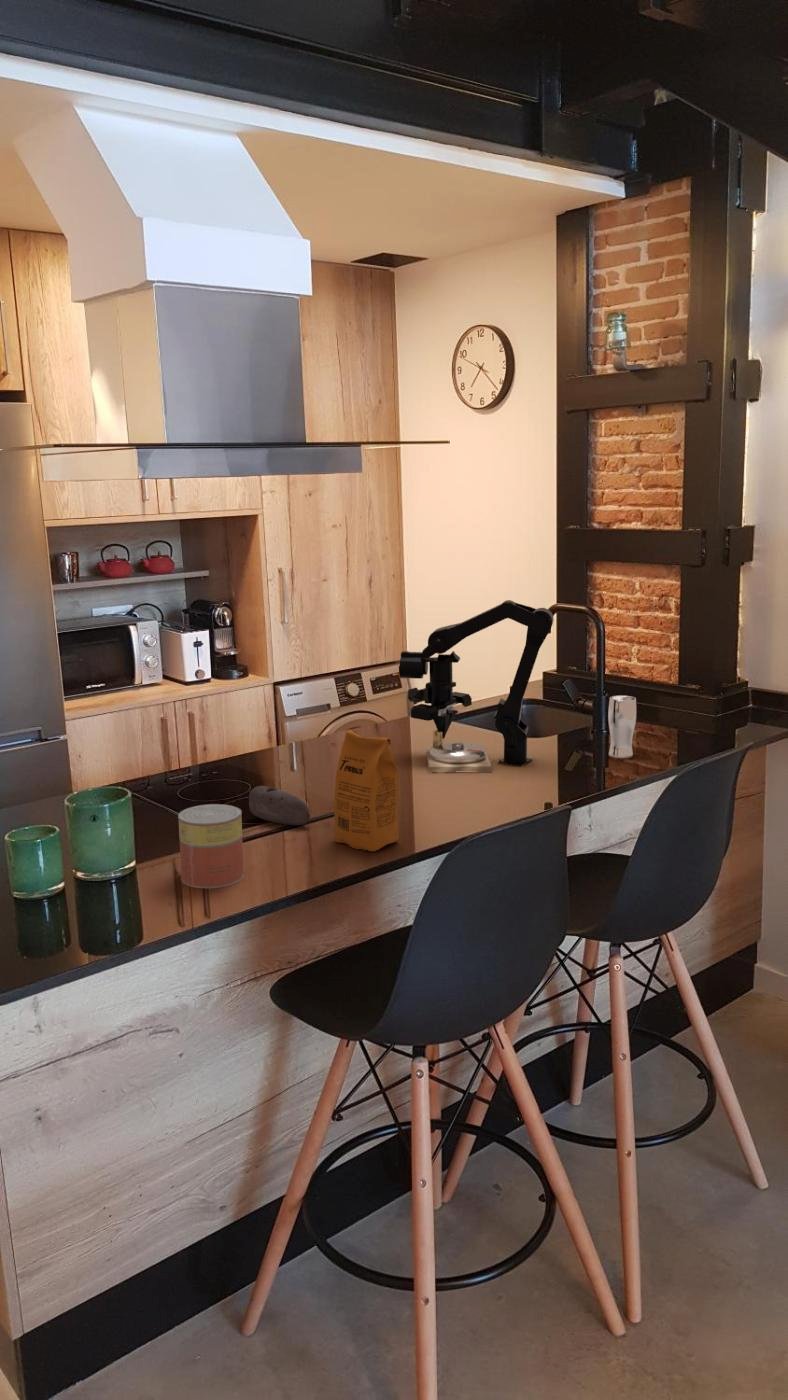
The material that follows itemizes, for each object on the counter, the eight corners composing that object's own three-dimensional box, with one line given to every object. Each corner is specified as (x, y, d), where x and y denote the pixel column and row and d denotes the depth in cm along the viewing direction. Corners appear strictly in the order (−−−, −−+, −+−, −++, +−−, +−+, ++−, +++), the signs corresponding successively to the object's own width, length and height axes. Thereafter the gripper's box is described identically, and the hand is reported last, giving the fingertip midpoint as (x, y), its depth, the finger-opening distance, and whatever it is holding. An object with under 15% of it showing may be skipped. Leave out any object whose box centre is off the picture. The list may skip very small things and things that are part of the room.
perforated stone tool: (317, 825, 223) (316, 793, 222) (300, 832, 219) (299, 799, 218) (264, 813, 232) (263, 782, 230) (247, 819, 228) (245, 787, 226)
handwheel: (494, 752, 273) (494, 730, 272) (473, 765, 261) (473, 742, 260) (443, 746, 279) (443, 725, 278) (420, 759, 267) (420, 736, 266)
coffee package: (361, 829, 221) (360, 724, 216) (406, 842, 212) (405, 734, 208) (326, 841, 214) (323, 733, 209) (370, 855, 205) (369, 743, 201)
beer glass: (605, 757, 274) (607, 700, 271) (608, 751, 280) (610, 694, 277) (633, 759, 272) (635, 701, 269) (635, 752, 278) (637, 696, 275)
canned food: (247, 865, 201) (244, 803, 199) (240, 887, 190) (238, 822, 187) (186, 866, 201) (183, 804, 198) (176, 889, 190) (172, 824, 187)
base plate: (484, 753, 279) (484, 747, 279) (491, 772, 262) (491, 766, 261) (426, 754, 279) (426, 748, 279) (429, 773, 262) (429, 767, 261)
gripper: (437, 667, 282) (438, 725, 286) (392, 682, 268) (394, 742, 272) (472, 673, 275) (473, 731, 279) (428, 688, 261) (429, 749, 265)
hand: (442, 738), depth 274 cm, fingers closed
